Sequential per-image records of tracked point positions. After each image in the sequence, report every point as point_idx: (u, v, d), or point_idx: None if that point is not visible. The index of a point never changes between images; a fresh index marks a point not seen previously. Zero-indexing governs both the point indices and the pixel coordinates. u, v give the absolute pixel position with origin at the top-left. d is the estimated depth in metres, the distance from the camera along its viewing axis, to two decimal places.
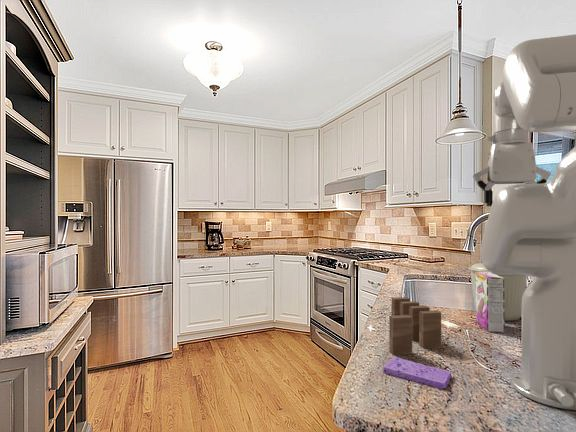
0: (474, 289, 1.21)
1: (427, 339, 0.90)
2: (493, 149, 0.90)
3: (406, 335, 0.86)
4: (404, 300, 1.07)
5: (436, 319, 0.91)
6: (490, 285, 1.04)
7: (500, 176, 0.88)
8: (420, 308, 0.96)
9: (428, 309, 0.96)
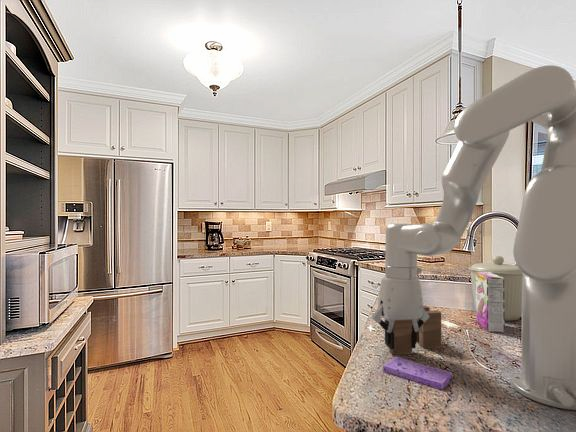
0: (474, 289, 1.21)
1: (427, 339, 0.90)
2: None
3: (406, 335, 0.86)
4: None
5: (436, 319, 0.91)
6: (490, 285, 1.04)
7: None
8: None
9: (428, 309, 0.96)
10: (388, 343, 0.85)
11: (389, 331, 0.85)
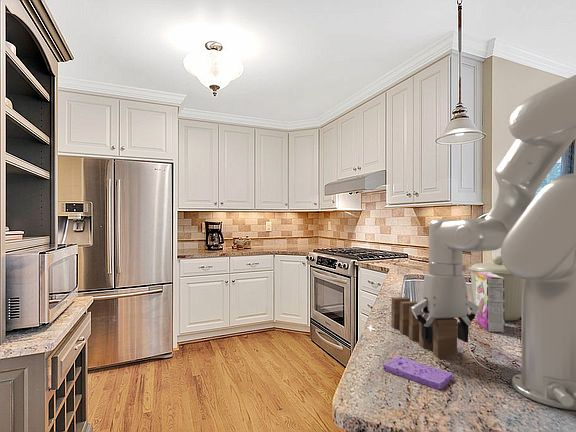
0: (474, 289, 1.21)
1: None
2: None
3: (451, 337, 0.84)
4: (404, 300, 1.07)
5: None
6: (490, 285, 1.04)
7: None
8: None
9: None
10: (425, 337, 0.83)
11: (426, 325, 0.83)
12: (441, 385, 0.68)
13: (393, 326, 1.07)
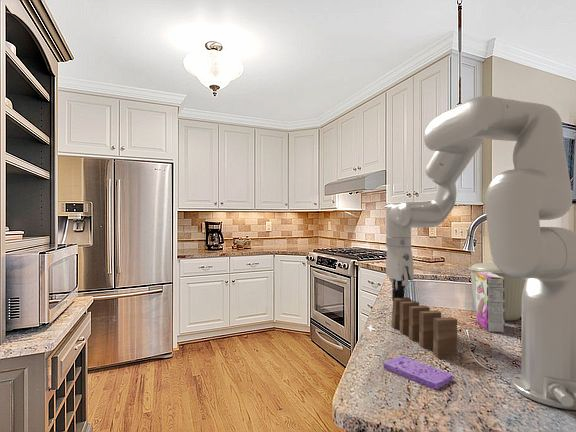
0: (474, 289, 1.21)
1: (427, 339, 0.90)
2: (411, 253, 1.05)
3: (451, 337, 0.84)
4: None
5: None
6: (490, 285, 1.04)
7: None
8: (420, 308, 0.96)
9: (428, 309, 0.96)
10: None
11: (392, 287, 1.10)
12: (438, 385, 0.68)
13: (393, 326, 1.07)
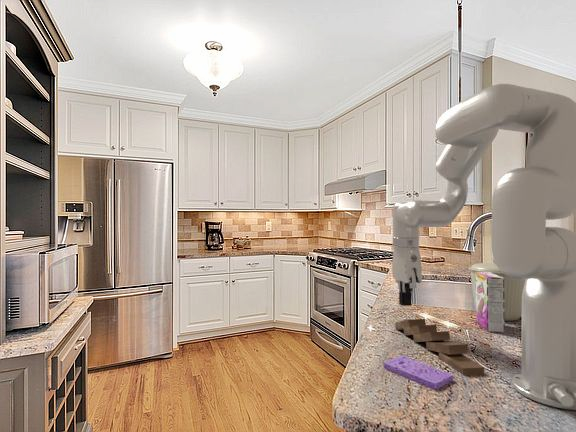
0: (474, 289, 1.21)
1: None
2: (419, 254, 1.01)
3: None
4: None
5: None
6: (490, 285, 1.04)
7: None
8: (440, 339, 0.87)
9: (448, 339, 0.87)
10: None
11: (399, 289, 1.06)
12: (438, 385, 0.68)
13: (396, 327, 1.05)
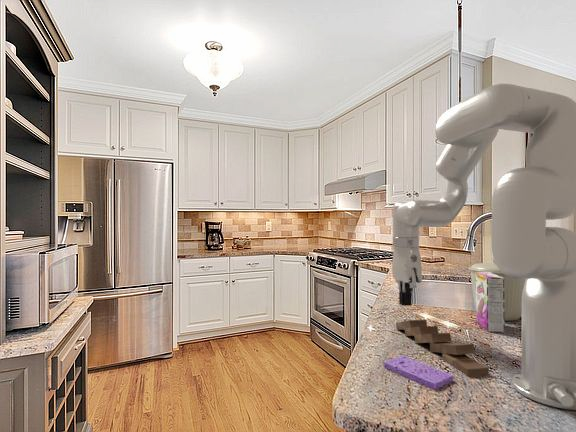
0: (474, 289, 1.21)
1: None
2: (419, 253, 1.01)
3: None
4: None
5: None
6: (490, 285, 1.04)
7: None
8: (441, 341, 0.86)
9: (449, 341, 0.87)
10: None
11: (399, 289, 1.06)
12: (437, 385, 0.68)
13: (397, 327, 1.05)
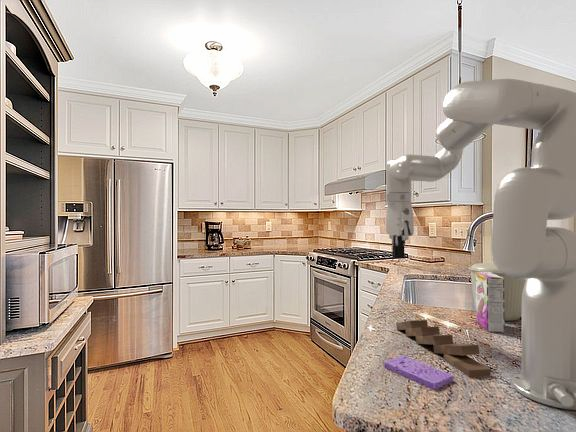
0: (474, 289, 1.21)
1: None
2: (411, 207, 1.05)
3: None
4: None
5: None
6: (490, 285, 1.04)
7: None
8: (442, 343, 0.86)
9: (450, 343, 0.86)
10: None
11: (393, 244, 1.10)
12: (437, 385, 0.68)
13: (397, 327, 1.05)
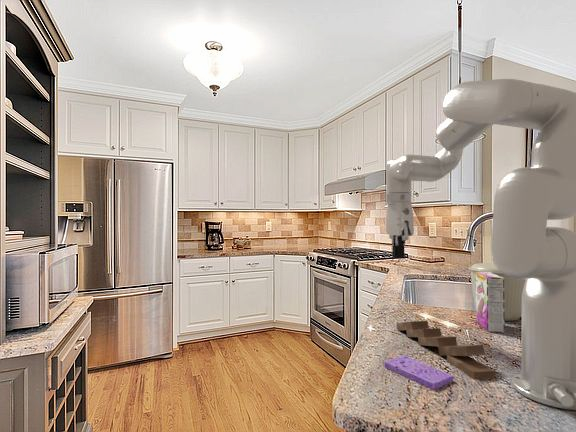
0: (474, 289, 1.21)
1: None
2: (411, 207, 1.05)
3: None
4: (422, 328, 0.97)
5: None
6: (490, 285, 1.04)
7: None
8: (446, 345, 0.85)
9: None
10: None
11: (393, 244, 1.10)
12: (436, 385, 0.68)
13: (397, 328, 1.04)
